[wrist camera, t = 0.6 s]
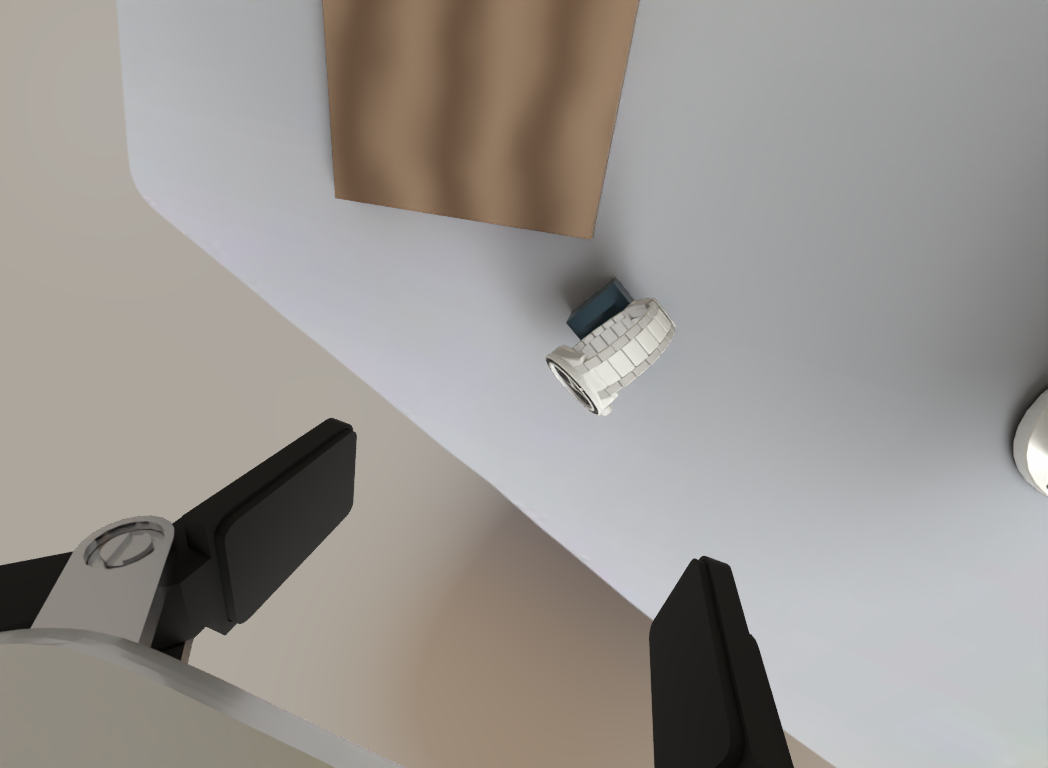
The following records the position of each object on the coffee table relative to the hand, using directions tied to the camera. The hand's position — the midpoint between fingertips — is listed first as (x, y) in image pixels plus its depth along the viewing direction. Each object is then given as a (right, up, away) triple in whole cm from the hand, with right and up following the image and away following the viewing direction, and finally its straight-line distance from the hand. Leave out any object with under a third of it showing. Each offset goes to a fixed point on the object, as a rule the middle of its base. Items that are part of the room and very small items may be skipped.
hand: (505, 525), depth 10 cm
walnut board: (-3, +24, +17) cm, 29 cm away
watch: (+8, +9, +21) cm, 24 cm away
